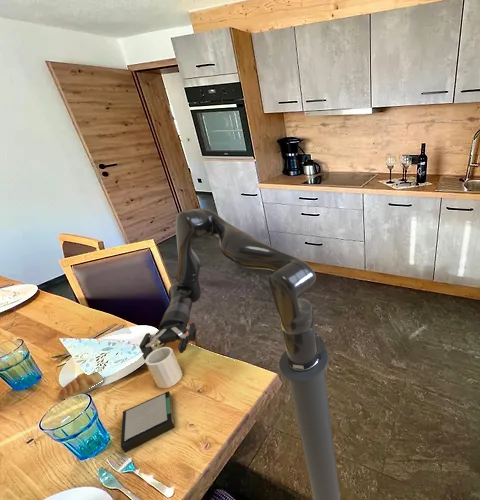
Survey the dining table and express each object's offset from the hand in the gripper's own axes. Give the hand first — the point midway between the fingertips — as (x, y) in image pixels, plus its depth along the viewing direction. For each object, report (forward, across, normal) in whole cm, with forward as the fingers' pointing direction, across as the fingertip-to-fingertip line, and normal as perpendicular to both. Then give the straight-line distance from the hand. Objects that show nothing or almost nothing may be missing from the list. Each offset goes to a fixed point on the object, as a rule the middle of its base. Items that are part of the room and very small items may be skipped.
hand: (163, 355), depth 81 cm
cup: (+2, 0, +7) cm, 7 cm away
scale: (+15, -2, +7) cm, 17 cm away
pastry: (-3, -22, +7) cm, 24 cm away
